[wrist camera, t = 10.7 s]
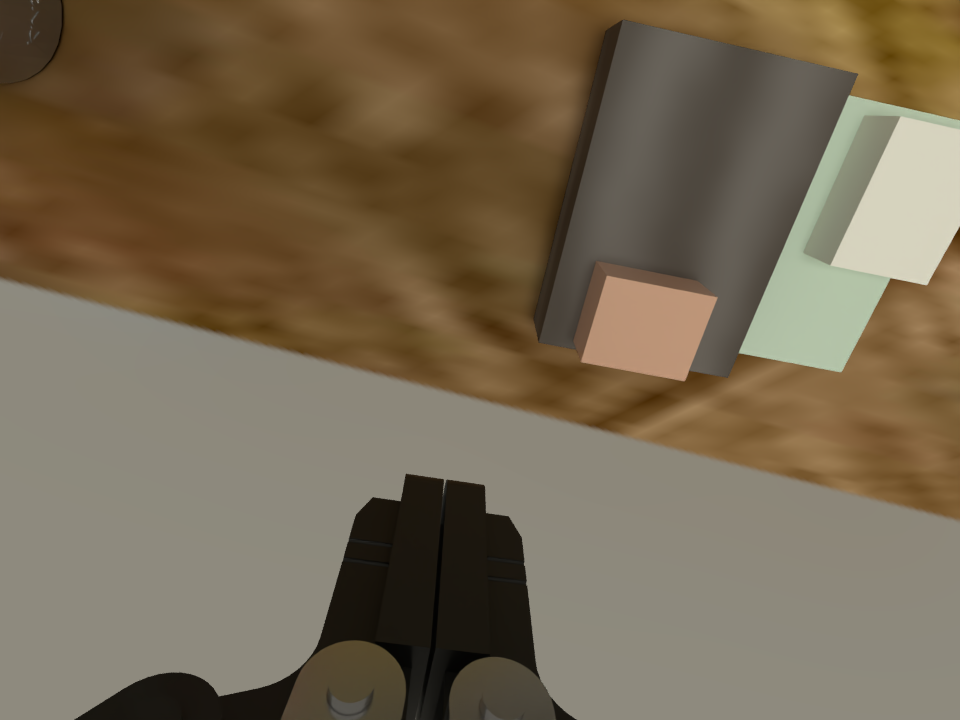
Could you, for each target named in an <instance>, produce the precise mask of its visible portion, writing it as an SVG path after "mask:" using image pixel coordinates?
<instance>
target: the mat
mask: <svg viewBox="0 0 960 720" xmlns="http://www.w3.org/2000/svg"><path fill="white" fill-rule="evenodd" d="M864 115H869V116H902V117H906V118H911V119H915V120H920V121H924V122H928V123H933V124H937V125H942V126H946V127H950V128H955V129H959V130H960V120H955V119H951V118H946V117H942V116H938V115H933V114H929V113H924V112H920V111H916V110H911V109H907V108H902V107H898V106H894V105H889V104H885V103H880V102H876V101H872V100H867V99H863V98H858V97H854V96H850V95H849V97H848V99H847V101H846V104H845V106H844V108H843V111H842V113H841V115H840V118H839V120H838V122H837V125H836V127H835V129H834V132H833V134H832V136H831V139H830V141H829V143H828V145H827V148H826V150H825V152H824V155H823V157H822V159H821V162H820V164H819V166H818V169H817V171H816V173H815V176H814V178H813V180H812V183H811V185H810V187H809V190H808V192H807V194H806V197H805V199H804V201H803V204H802V206H801V208H800V211H799V213H798V215H797V218H796V220H795V222H794V225H793V227H792V229H791V232H790V234H789V236H788V239H787V241H786V243H785V246H784V248H783V250H782V253H781V255H780V257H779V260H778V262H777V264H776V267H775V269H774V271H773V274H772V276H771V278H770V281H769V283H768V285H767V288H766V290H765V292H764V295H763V297H762V299H761V302H760V304H759V306H758V309H757V311H756V313H755V316H754V318H753V320H752V323H751V325H750V327H749V330H748V332H747V334H746V337H745V339H744V341H743V344H742V346H741V348H740V351H739V353H742V354H747V355H753V356H758V357H763V358H768V359H774V360H779V361H784V362H790V363H795V364H800V365H805V366H811V367H816V368H821V369H826V370H832V371H837V372H842V370H843V368H844V366H845V364H846V362H847V360H848V359H849V357H850V355H851V353H852V351H853V349H854V347H855V345H856V343H857V341H858V339H859V337H860V336H861V334H862V332H863V330H864V328H865V326H866V324H867V322H868V320H869V318H870V316H871V315H872V313H873V311H874V309H875V307H876V305H877V303H878V301H879V299H880V297H881V295H882V293H883V292H884V290H885V288H886V286H887V284H888V282H889V280H890V278H889V277H884V276H879V275H874V274H869V273H864V272H860V271H855V270H850V269H845V268H840V267H835V266H830V265H828V264H826V263H824V262H822V261H819V260H817V259H815V258H813V257H811V256H809V255H806V254H804V253H803V252H804V250H805V248H806V245H807V243H808V241H809V239H810V236H811V234H812V232H813V230H814V227H815V225H816V223H817V221H818V218H819V216H820V214H821V212H822V209H823V207H824V205H825V203H826V200H827V198H828V196H829V194H830V192H831V189H832V187H833V185H834V183H835V180H836V178H837V176H838V174H839V171H840V169H841V167H842V165H843V162H844V160H845V158H846V156H847V153H848V151H849V149H850V147H851V144H852V142H853V140H854V138H855V135H856V133H857V131H858V129H859V127H860V124H861V122H862V120H863V118H864Z"/></svg>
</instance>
